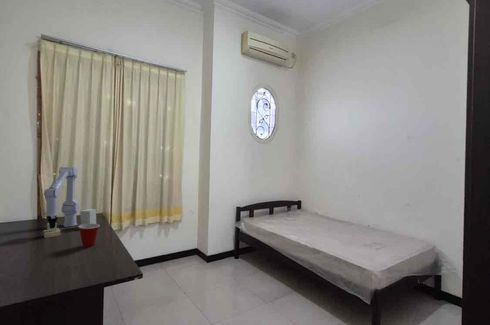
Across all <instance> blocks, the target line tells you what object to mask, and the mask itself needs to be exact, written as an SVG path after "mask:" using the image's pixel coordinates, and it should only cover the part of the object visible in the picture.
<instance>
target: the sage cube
mask: <svg viewBox="0 0 490 325" xmlns="http://www.w3.org/2000/svg"><path fill="white" fill-rule="evenodd" d="M46 227H47V228H46V230H48V232H49V231H55V230H57V228H58V223H57V222H56V224H55V228H52V229H51V228H50V225H49V223H48V222H47V226H46Z"/></svg>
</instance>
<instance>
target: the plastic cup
mask: <svg viewBox="0 0 490 325" xmlns="http://www.w3.org/2000/svg"><path fill="white" fill-rule="evenodd" d="M100 226H101V225H100V224H98V223H96V224H83V225H81V224H80V225H77V227H78V229H79V232H80V237H81V242H82V246H83V248H90V247H94V246H95V244H96V240H97V235H98V231H99V227H100Z"/></svg>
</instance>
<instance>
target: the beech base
mask: <svg viewBox="0 0 490 325" xmlns="http://www.w3.org/2000/svg"><path fill="white" fill-rule="evenodd" d="M60 236H61V229H60V228H59V227H57V230H55V231H49V232H48V230H47V229H44V230H43V237H44V238H45V239H47V238H53V237H54V238H55V237H60Z"/></svg>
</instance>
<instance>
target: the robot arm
mask: <svg viewBox="0 0 490 325" xmlns="http://www.w3.org/2000/svg"><path fill="white" fill-rule="evenodd" d="M77 178H78V169H77V167H76V166H61V167H60V168H59V169H58V176H57V178H56V179H55V180H53V181H52V183H51V185H50V186H49V187H48V188H46V189H45V190H44V193H43V195H44V199H45V202H46V204H45V206H46V208H45V209H46V213H44V214H43V216H44V217H45V218H46V219H47V223H49V225H50V228H51V229H52V228H55V224H56V223H57V220H58V219H59V217H58V214H59V212H58V197H59V196H60V191H61V188H62V186H64V183H63V182H64V181H65V179H66V198H65V201H64V202H63V203H62V205H61V212H62V214H63V215H64V223H62V225H63V226H64V227H65V228H66V227H73V226H79V225H78V223H77V213H78V212H79V210H80V205H79V202H78V201H77V200H75V195H76V194H75V189H76V179H77Z"/></svg>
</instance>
